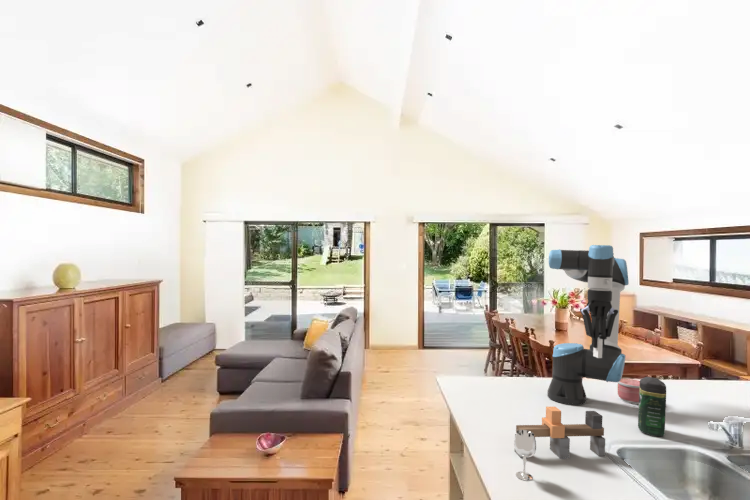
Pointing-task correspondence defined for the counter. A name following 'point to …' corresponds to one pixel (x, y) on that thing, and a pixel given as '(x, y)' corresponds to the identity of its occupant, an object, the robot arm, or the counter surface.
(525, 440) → the wineglass
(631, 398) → the container
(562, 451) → the beam
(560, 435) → the rider
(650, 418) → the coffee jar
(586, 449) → the counter surface
